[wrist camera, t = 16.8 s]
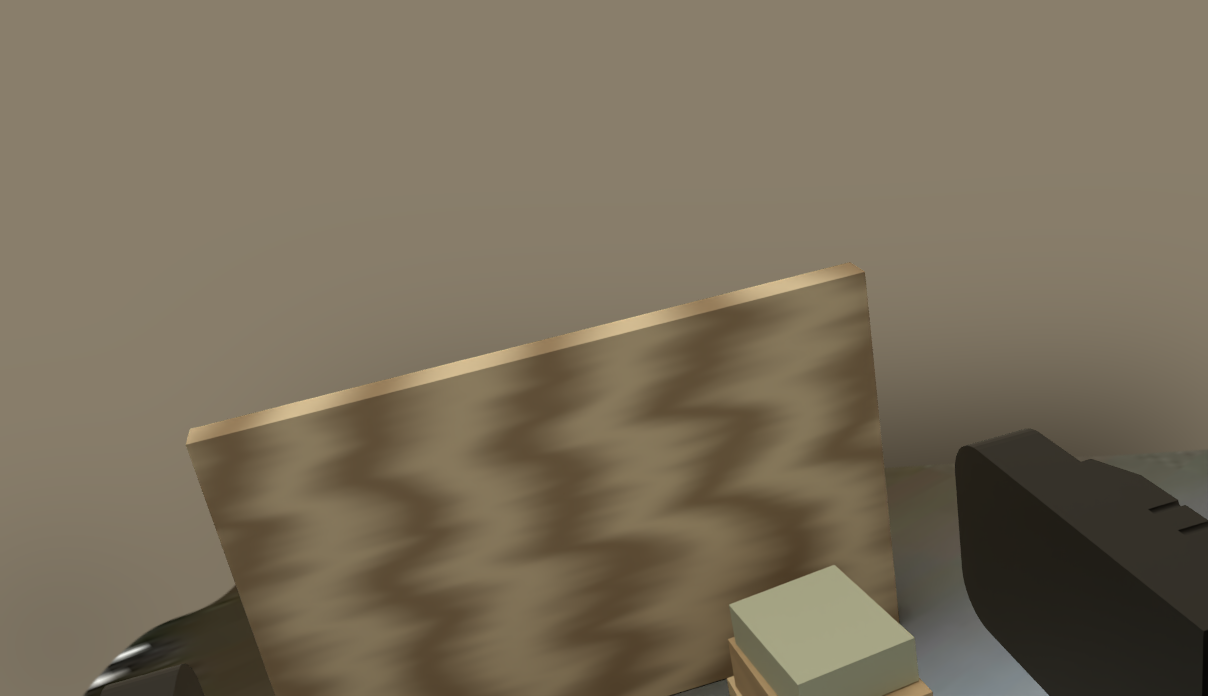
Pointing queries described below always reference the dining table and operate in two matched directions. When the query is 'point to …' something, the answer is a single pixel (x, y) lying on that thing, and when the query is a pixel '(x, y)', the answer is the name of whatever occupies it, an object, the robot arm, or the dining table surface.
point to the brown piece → (560, 502)
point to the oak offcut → (760, 692)
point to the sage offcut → (824, 639)
